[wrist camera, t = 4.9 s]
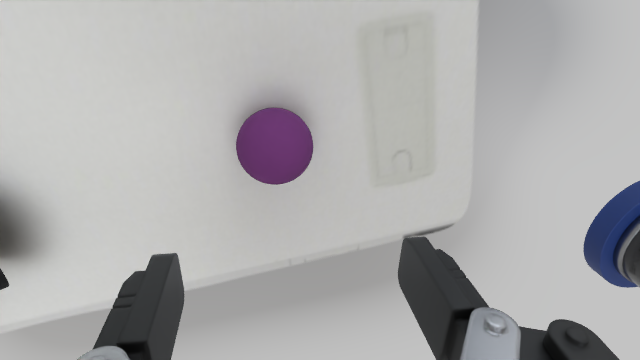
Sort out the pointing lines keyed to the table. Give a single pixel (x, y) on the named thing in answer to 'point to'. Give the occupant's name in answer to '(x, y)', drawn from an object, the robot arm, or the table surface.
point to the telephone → (3, 281)
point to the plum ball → (274, 146)
